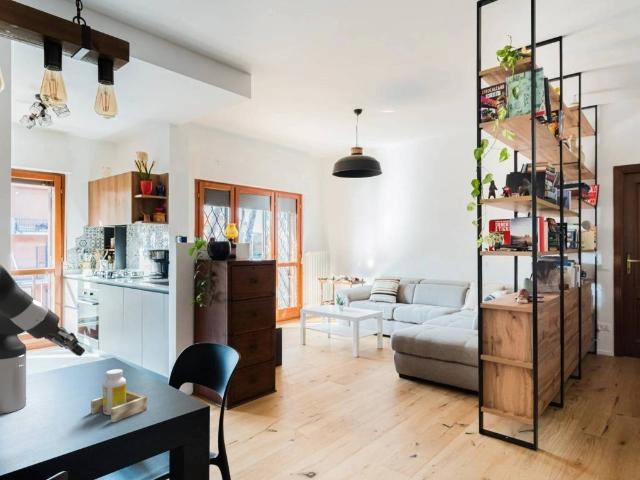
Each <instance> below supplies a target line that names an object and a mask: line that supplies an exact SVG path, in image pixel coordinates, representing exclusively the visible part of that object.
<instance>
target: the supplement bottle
mask: <svg viewBox="0 0 640 480" xmlns="http://www.w3.org/2000/svg"><path fill="white" fill-rule="evenodd" d="M123 371H124V370H123V369H120V368H115V369H110V370H107V371H106V372H105V377H106V379H105V380H104V381H103V383H102V397H103V411H102V413H103V414H104V415H107V416H111V408H113V407H116V406H119V405H122V404H125V403H126V390H127V380H126V378H125V377H123V374H124V373H123Z"/></svg>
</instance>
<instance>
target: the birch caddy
mask: <svg viewBox="0 0 640 480" xmlns="http://www.w3.org/2000/svg"><path fill="white" fill-rule="evenodd" d="M147 409H148V397H147V396H146V395H141V394H138V393H136V392H133V391H130V390H127V389H126V403H125V404H122V405H119V406H116V407H113V408H111V415H110V422H111V423H113V422H114V423H116V422H118V421H121V420H123V418H124V419H126V418H129V417H131V416H134V415H136V414H139V413H143V412H144V411H147ZM97 412H98V413H100V412H103V396H100V397H98V398H95V399H91V400H90V414H91V413H92V415H95V414H98V413H97ZM94 413H95V414H94Z"/></svg>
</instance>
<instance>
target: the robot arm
mask: <svg viewBox="0 0 640 480" xmlns="http://www.w3.org/2000/svg"><path fill="white" fill-rule="evenodd" d="M60 319H61V318H60V317H59V316H58V315H57V314H56V313H55V312H54V311H52V310H51V309H50V308H49V307H47V306H46V305H44V304H43V303H42V302H41V301H39V300H37V299H35V298H34V297H32V296H31V295H30V294H29V293H27V292H26V291H25V290H24V289H22V288H21V287H20V286H19V285H18V283H17V282H16V280H15V279H14V277H12V275H11V274H10V273H9V271H8V270H7V269H6V268H5V267H4V266H3V265H2V264H0V415H2V414H8V413H13V412H15V411H19V410H21V409H23V408H25V407H26V406H27V347H26V344H25V343H24V342H22V340H20V339H19V336H18V335H21V334H23V333H27V334H29V335H30V336H31V337H33V339H37V340H40V339H43V338H44V339H45V340H48V342H52V343H53V344H55V345H56V346H59V347H60V348H64V349H66V350H69V351H70V352H72V353H73V354H74V355H75V356H79V357H82V355H83V354H84V353H85V351H86V349H85V348H84V347H82V346H81V345H79V344H78V343H79V339H78V338H77V335H75V334H74V332H68V331H67V329H66V328H65V327H63V326H59V323H60Z"/></svg>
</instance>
